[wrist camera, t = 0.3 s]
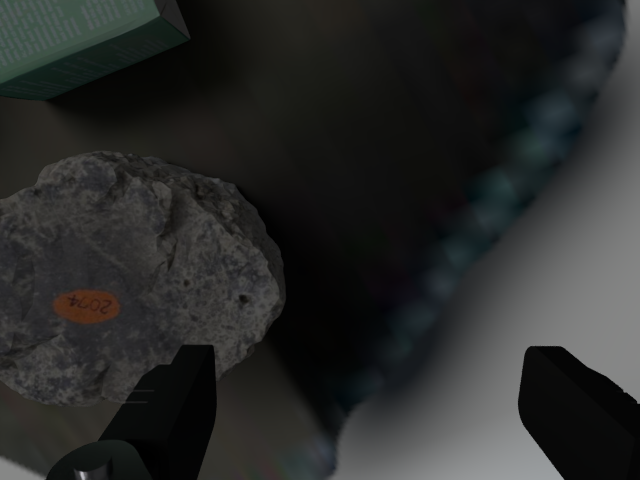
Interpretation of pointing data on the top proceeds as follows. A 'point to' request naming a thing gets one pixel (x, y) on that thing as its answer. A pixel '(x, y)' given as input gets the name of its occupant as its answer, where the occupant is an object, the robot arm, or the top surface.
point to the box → (79, 41)
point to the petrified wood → (128, 276)
